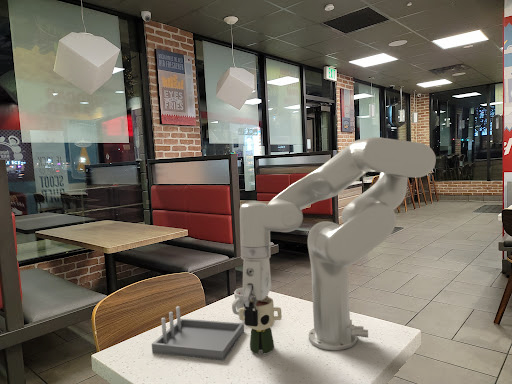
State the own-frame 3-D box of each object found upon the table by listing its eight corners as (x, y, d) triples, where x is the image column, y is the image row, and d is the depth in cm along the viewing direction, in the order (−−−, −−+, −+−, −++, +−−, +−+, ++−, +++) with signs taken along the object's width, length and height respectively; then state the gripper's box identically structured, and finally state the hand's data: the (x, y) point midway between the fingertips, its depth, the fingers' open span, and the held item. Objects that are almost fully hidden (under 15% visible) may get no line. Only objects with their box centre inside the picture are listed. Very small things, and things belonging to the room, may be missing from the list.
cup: (244, 326, 110) (242, 300, 110) (224, 320, 115) (222, 295, 114) (265, 313, 119) (264, 289, 118) (246, 308, 124) (244, 285, 123)
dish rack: (244, 331, 106) (242, 305, 106) (223, 361, 91) (221, 330, 91) (181, 326, 112) (179, 301, 112) (152, 353, 97) (150, 324, 97)
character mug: (239, 357, 93) (236, 306, 92) (243, 343, 100) (240, 296, 99) (282, 357, 91) (280, 306, 90) (283, 343, 98) (281, 295, 97)
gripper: (260, 260, 84) (261, 334, 85) (278, 245, 101) (279, 306, 102) (229, 259, 86) (231, 330, 88) (251, 244, 103) (253, 304, 104)
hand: (257, 317), depth 95 cm, fingers open, 9 cm apart
